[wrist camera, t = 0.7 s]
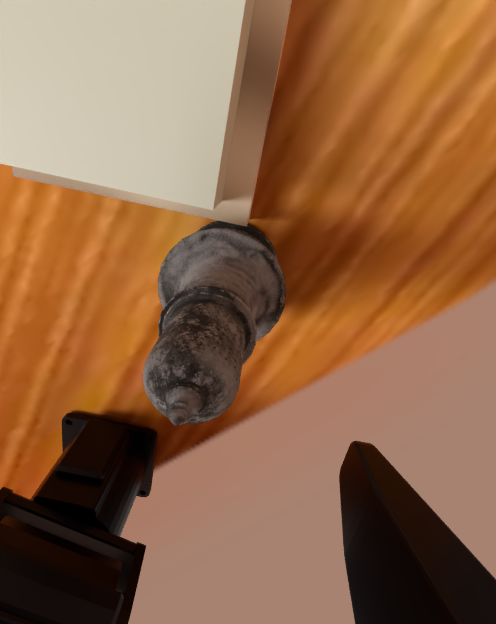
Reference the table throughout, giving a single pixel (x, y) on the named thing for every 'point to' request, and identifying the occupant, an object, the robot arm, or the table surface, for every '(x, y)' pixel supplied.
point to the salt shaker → (211, 319)
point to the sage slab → (124, 92)
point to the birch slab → (247, 130)
